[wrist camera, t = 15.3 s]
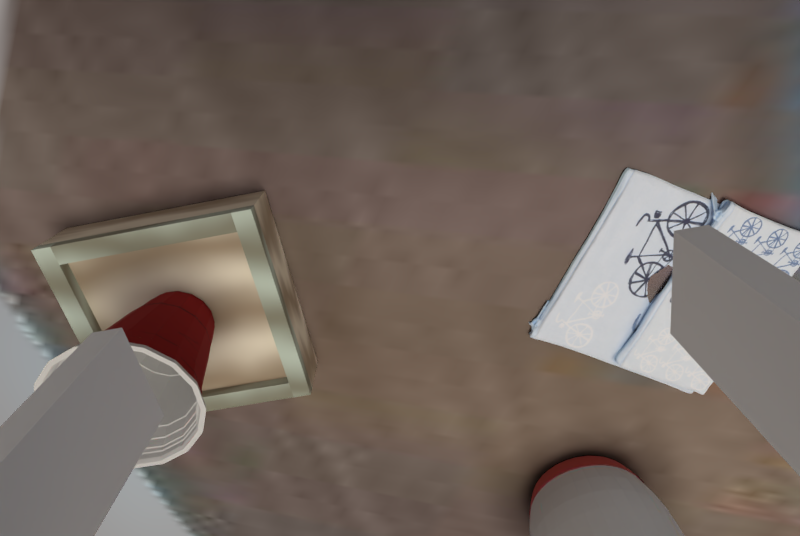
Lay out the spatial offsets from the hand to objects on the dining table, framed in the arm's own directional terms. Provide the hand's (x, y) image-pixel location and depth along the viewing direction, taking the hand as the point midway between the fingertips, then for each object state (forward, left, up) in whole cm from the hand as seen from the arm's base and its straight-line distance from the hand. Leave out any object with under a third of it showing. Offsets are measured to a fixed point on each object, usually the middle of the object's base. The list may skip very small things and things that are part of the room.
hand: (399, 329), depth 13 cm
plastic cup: (+13, -21, -29) cm, 38 cm away
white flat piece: (+20, +22, -34) cm, 45 cm away
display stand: (+13, -21, -33) cm, 41 cm away
